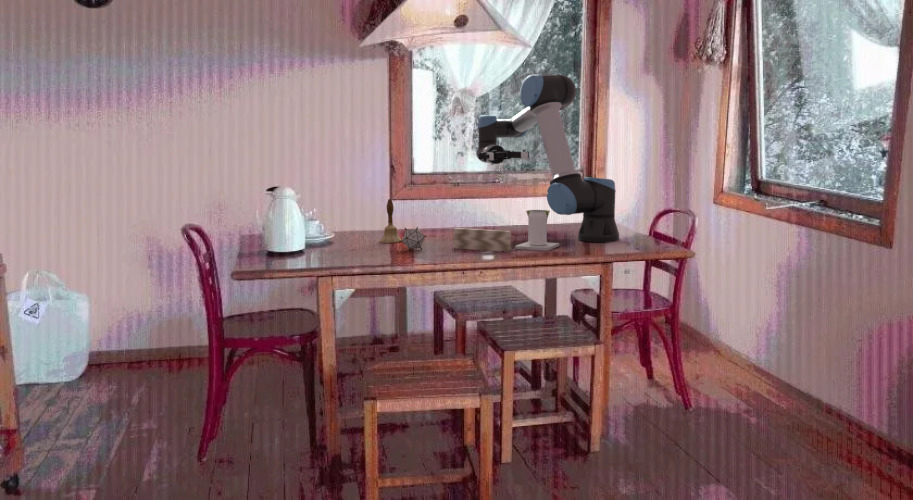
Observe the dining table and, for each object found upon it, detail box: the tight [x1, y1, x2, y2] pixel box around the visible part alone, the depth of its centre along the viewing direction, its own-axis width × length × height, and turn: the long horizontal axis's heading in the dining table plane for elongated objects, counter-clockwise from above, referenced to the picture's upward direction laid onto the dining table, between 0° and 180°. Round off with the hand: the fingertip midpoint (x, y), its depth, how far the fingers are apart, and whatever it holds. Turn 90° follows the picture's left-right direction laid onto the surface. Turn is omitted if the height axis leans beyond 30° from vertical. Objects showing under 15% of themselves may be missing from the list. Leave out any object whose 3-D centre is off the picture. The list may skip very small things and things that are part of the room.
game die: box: [398, 226, 428, 252], centre depth 300 cm, size 9×8×10 cm
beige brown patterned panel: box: [453, 227, 512, 253], centre depth 299 cm, size 21×2×7 cm, turn 63°
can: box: [527, 209, 548, 246], centre depth 302 cm, size 6×6×12 cm
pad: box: [514, 241, 560, 252], centre depth 303 cm, size 12×12×1 cm
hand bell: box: [379, 198, 403, 244], centre depth 320 cm, size 8×8×16 cm
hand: (510, 156), depth 322 cm, fingers open, 13 cm apart
